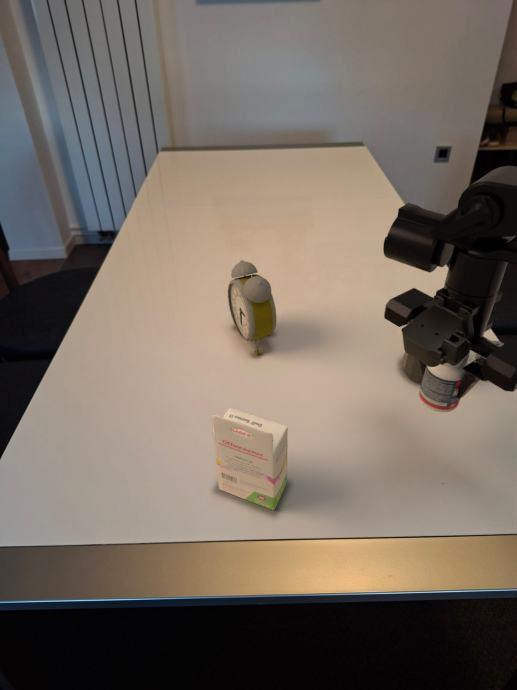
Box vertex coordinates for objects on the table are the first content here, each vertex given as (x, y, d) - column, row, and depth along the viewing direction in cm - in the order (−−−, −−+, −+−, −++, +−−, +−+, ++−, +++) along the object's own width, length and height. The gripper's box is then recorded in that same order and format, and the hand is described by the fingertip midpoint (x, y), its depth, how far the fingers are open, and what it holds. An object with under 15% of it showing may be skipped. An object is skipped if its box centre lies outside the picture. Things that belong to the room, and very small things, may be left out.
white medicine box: (288, 483, 69) (291, 408, 60) (274, 512, 65) (275, 437, 56) (233, 463, 72) (227, 388, 63) (216, 489, 68) (208, 414, 59)
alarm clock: (228, 326, 99) (224, 259, 89) (260, 318, 101) (258, 251, 91) (251, 360, 90) (249, 289, 81) (285, 350, 92) (286, 280, 83)
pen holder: (460, 360, 89) (470, 329, 85) (453, 393, 82) (463, 361, 78) (408, 347, 92) (415, 317, 88) (397, 378, 86) (403, 346, 81)
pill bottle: (452, 418, 64) (470, 367, 59) (413, 404, 67) (426, 353, 61) (462, 394, 68) (479, 343, 62) (424, 381, 70) (437, 331, 65)
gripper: (361, 273, 58) (348, 372, 68) (506, 352, 46) (465, 459, 56) (423, 246, 63) (402, 342, 73) (567, 311, 52) (520, 416, 61)
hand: (442, 385), depth 66 cm, fingers closed on pill bottle, 5 cm apart
